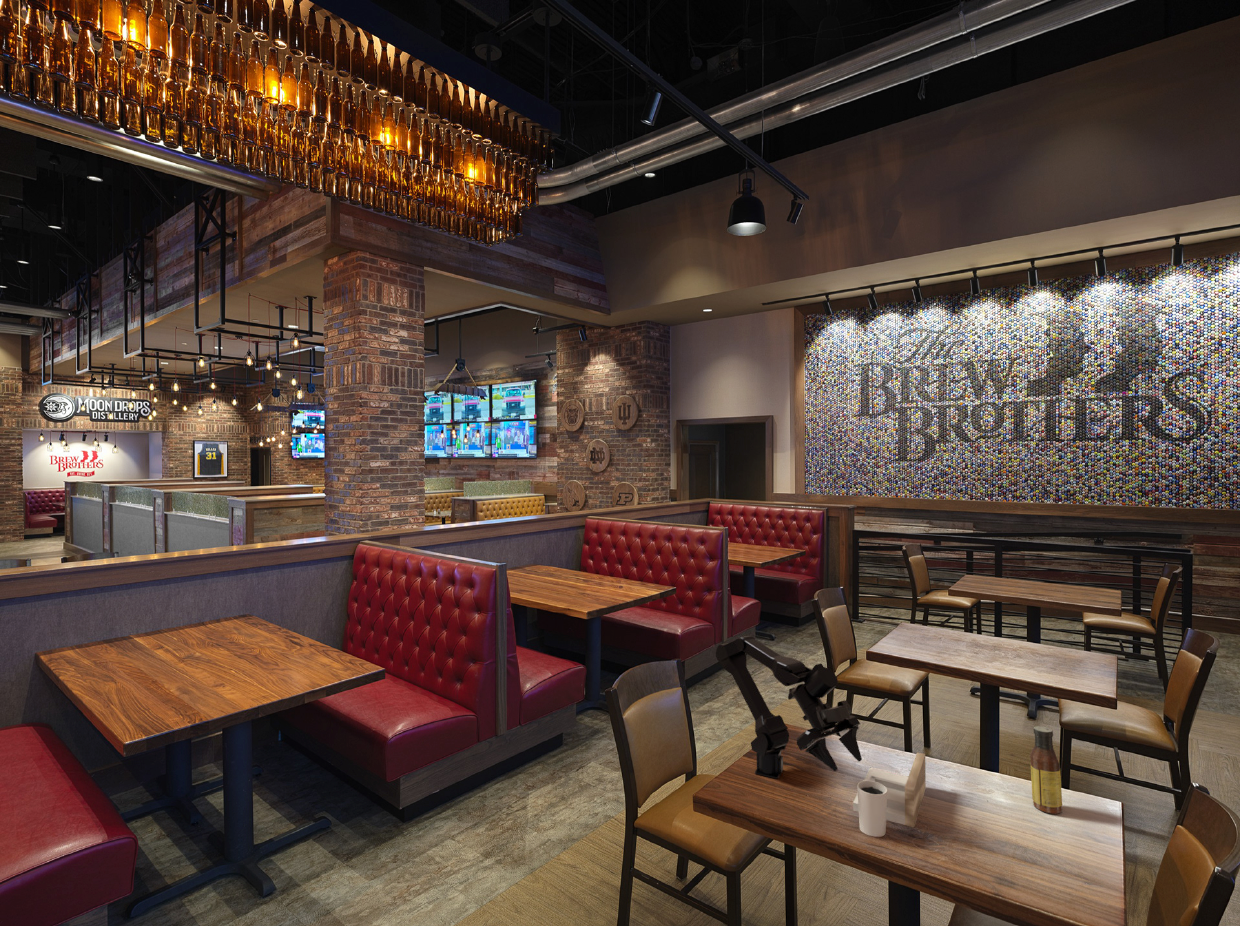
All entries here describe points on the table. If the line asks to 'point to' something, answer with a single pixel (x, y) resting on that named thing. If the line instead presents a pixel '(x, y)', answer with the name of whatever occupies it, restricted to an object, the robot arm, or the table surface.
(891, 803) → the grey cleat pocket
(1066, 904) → the table surface
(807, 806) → the table surface
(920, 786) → the ash wall board
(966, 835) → the table surface
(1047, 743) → the sauce bottle
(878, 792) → the white coffee cup
